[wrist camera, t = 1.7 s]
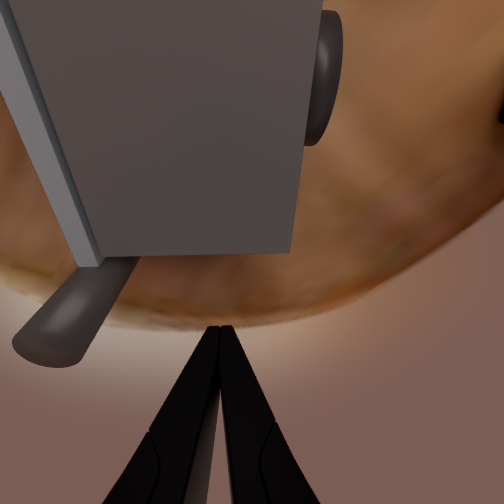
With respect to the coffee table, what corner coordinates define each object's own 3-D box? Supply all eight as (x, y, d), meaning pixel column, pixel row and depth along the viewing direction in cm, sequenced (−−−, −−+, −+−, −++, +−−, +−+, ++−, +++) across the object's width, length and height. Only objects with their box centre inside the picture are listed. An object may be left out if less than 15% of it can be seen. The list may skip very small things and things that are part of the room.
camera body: (322, -171, 9) (523, -761, 3) (284, 198, 16) (317, 252, 10) (69, -205, 8) (-397, -1109, 2) (151, 198, 15) (102, 257, 9)
